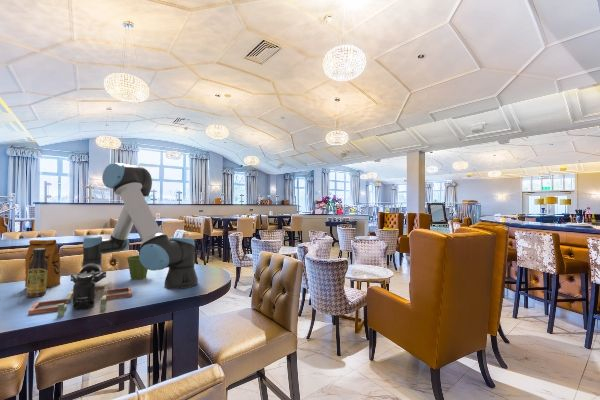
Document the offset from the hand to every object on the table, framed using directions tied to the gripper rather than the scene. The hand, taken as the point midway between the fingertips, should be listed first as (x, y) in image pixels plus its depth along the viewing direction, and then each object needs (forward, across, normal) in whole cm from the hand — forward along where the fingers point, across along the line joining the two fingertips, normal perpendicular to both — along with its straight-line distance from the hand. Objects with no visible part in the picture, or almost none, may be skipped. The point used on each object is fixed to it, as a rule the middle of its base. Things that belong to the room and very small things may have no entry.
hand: (84, 284), depth 114 cm
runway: (-6, 0, -8) cm, 10 cm away
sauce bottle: (-24, +19, -8) cm, 31 cm away
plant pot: (-36, -20, -8) cm, 42 cm away
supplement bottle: (+3, 0, -8) cm, 8 cm away
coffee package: (-42, +20, -8) cm, 47 cm away
